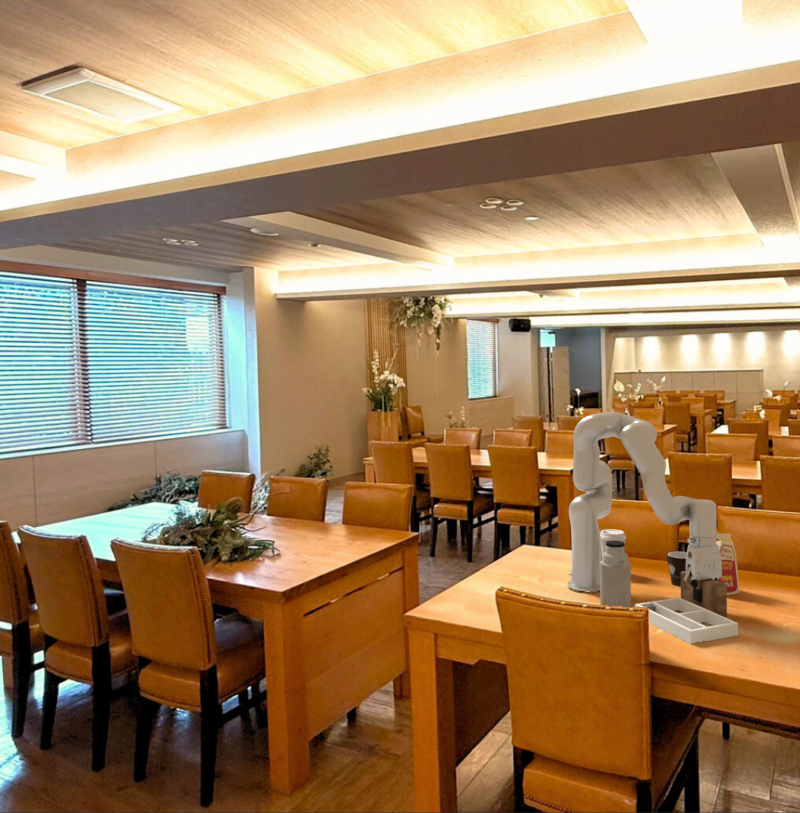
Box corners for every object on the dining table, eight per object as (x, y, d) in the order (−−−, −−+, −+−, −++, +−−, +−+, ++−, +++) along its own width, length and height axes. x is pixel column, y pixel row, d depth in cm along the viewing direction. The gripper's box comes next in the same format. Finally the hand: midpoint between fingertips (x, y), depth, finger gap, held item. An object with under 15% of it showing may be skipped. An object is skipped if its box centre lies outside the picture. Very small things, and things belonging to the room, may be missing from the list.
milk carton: (718, 596, 236) (718, 535, 235) (699, 588, 245) (699, 528, 244) (742, 593, 238) (742, 532, 237) (722, 585, 247) (722, 526, 246)
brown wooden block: (680, 603, 230) (680, 571, 230) (689, 601, 232) (689, 570, 231) (718, 619, 215) (717, 586, 215) (726, 618, 216) (726, 584, 216)
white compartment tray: (635, 615, 220) (634, 604, 220) (678, 608, 226) (678, 597, 225) (690, 644, 198) (690, 631, 198) (738, 635, 203) (738, 623, 203)
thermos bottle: (596, 638, 203) (595, 538, 202) (625, 637, 204) (624, 537, 202) (605, 649, 195) (604, 546, 194) (635, 648, 196) (634, 545, 194)
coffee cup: (596, 569, 270) (595, 528, 269) (622, 568, 269) (622, 528, 268) (602, 576, 260) (602, 535, 259) (629, 576, 260) (629, 534, 259)
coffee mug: (697, 588, 245) (697, 558, 244) (670, 587, 246) (670, 558, 246) (690, 578, 256) (690, 549, 255) (664, 577, 258) (664, 549, 257)
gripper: (689, 546, 216) (689, 607, 217) (733, 540, 221) (734, 600, 222) (672, 540, 223) (672, 600, 224) (715, 535, 228) (715, 593, 229)
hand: (703, 599), depth 223 cm, fingers closed on brown wooden block, 3 cm apart
